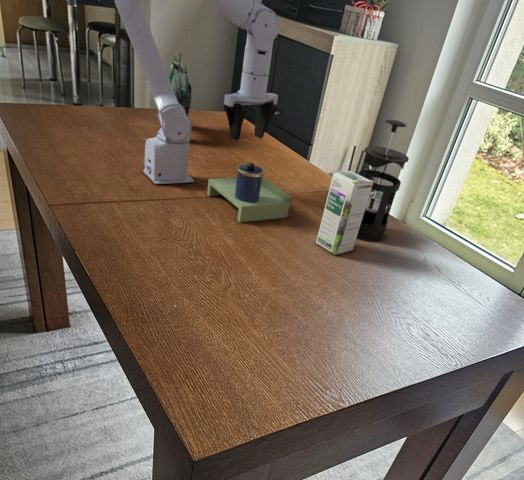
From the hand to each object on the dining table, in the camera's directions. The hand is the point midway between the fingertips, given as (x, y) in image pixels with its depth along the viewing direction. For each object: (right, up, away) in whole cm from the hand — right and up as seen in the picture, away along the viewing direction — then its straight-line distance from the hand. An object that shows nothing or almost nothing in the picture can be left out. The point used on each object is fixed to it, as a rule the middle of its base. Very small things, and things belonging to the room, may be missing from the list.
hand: (246, 138), depth 117 cm
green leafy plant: (-21, +15, +31) cm, 40 cm away
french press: (+26, -23, -5) cm, 35 cm away
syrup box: (+18, -28, -14) cm, 37 cm away
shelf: (0, -17, -5) cm, 18 cm away
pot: (0, -17, -10) cm, 20 cm away
